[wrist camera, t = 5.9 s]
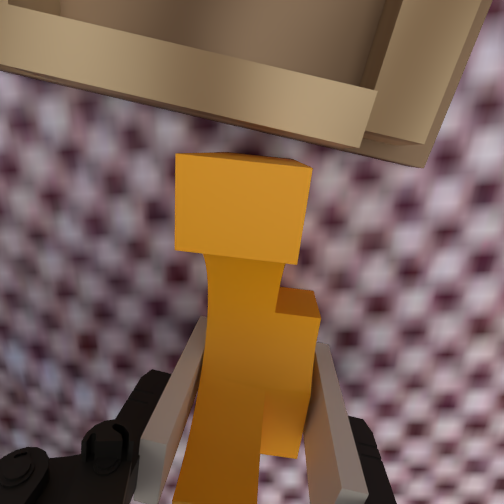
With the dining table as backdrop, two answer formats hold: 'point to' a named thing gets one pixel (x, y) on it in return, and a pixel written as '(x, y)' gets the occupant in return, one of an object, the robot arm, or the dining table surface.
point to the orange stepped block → (245, 319)
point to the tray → (262, 62)
